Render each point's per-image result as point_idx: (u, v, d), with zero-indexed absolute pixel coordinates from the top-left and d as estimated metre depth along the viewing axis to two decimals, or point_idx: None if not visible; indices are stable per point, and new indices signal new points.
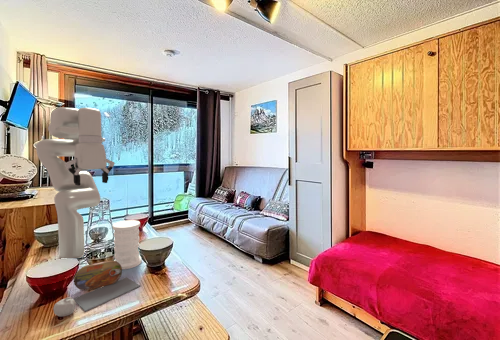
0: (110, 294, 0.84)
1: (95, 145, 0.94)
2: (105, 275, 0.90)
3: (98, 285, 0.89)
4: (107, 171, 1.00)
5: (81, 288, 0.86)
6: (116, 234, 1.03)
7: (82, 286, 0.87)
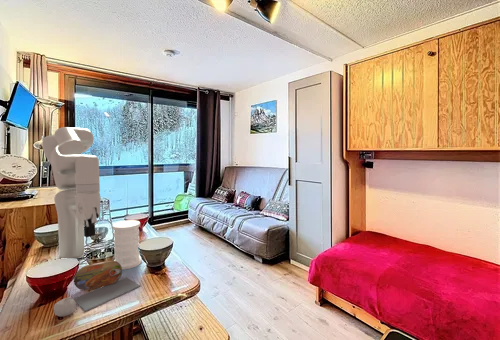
0: (110, 294, 0.84)
1: None
2: (105, 275, 0.90)
3: (98, 285, 0.89)
4: None
5: (81, 288, 0.86)
6: (116, 234, 1.03)
7: (82, 286, 0.87)
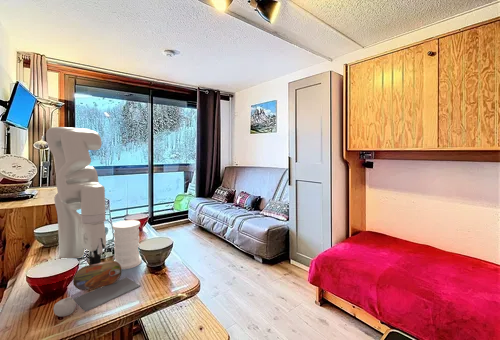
0: (110, 294, 0.84)
1: None
2: (105, 275, 0.90)
3: (98, 285, 0.89)
4: None
5: (81, 289, 0.86)
6: (116, 234, 1.03)
7: (82, 287, 0.86)
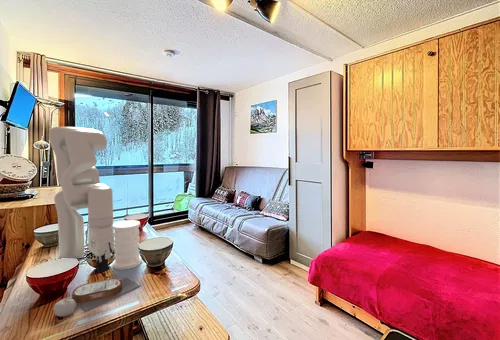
0: None
1: None
2: None
3: None
4: None
5: None
6: (116, 234, 1.03)
7: None
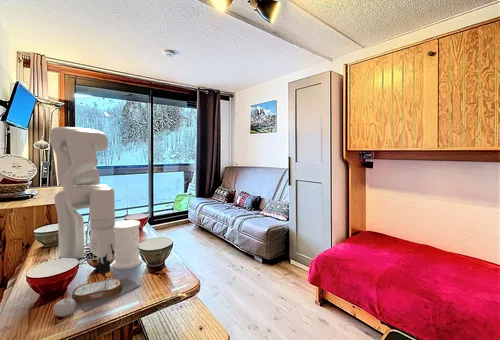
0: None
1: None
2: None
3: None
4: None
5: None
6: (116, 234, 1.03)
7: None
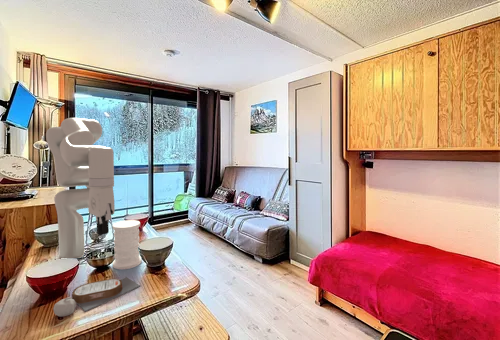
0: None
1: None
2: None
3: None
4: None
5: None
6: (116, 234, 1.03)
7: None
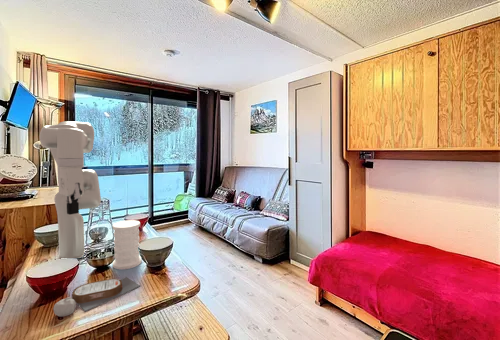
0: None
1: None
2: None
3: None
4: None
5: None
6: (116, 234, 1.03)
7: None
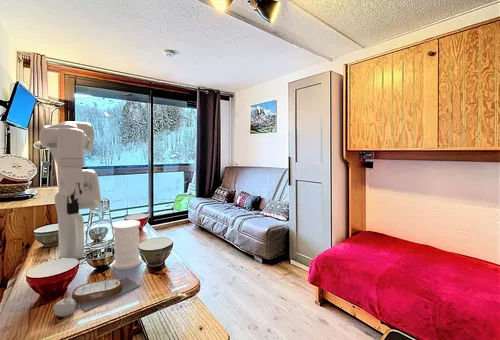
0: None
1: None
2: None
3: None
4: None
5: None
6: (116, 234, 1.03)
7: None
